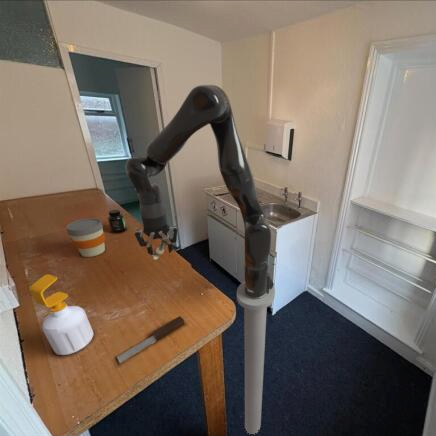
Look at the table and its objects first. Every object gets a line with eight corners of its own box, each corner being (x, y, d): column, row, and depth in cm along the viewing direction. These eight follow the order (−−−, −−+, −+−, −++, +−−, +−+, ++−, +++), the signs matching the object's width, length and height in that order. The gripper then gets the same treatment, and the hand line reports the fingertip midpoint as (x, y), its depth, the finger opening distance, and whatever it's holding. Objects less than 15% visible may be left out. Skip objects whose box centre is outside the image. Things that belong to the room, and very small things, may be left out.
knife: (180, 319, 81) (180, 315, 80) (184, 324, 80) (184, 320, 79) (116, 357, 68) (115, 353, 67) (119, 364, 66) (118, 359, 66)
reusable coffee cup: (69, 259, 105) (58, 231, 98) (86, 245, 116) (76, 218, 110) (101, 258, 108) (92, 230, 101) (114, 244, 119) (106, 217, 112)
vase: (169, 250, 93) (166, 237, 91) (170, 258, 89) (167, 244, 86) (153, 253, 91) (151, 240, 88) (153, 261, 87) (150, 247, 84)
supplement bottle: (129, 229, 133) (124, 210, 128) (118, 234, 127) (113, 214, 122) (119, 226, 134) (114, 207, 129) (108, 232, 128) (102, 212, 123)
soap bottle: (101, 334, 74) (76, 273, 64) (69, 360, 66) (35, 295, 56) (80, 325, 76) (53, 265, 66) (46, 350, 68) (10, 285, 58)
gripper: (127, 219, 76) (138, 261, 83) (175, 215, 82) (181, 255, 89) (131, 210, 82) (140, 250, 90) (176, 207, 88) (181, 245, 95)
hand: (161, 252), depth 89 cm, fingers closed on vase, 5 cm apart
